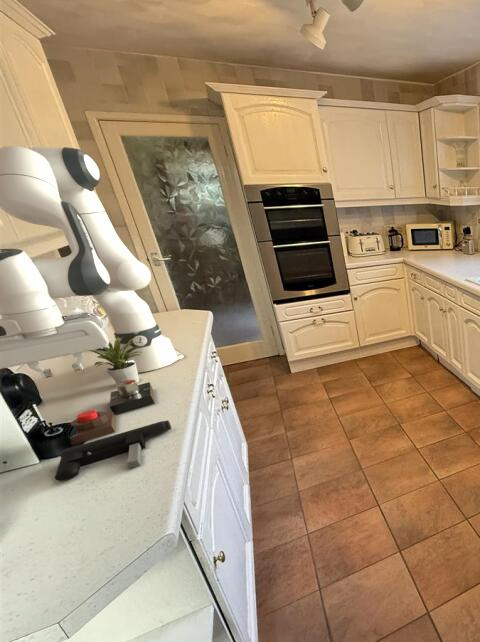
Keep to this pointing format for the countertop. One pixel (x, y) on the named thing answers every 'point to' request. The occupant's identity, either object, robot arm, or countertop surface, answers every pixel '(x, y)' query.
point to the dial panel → (132, 400)
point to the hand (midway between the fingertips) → (64, 373)
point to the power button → (87, 416)
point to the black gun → (108, 449)
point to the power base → (94, 427)
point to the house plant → (120, 361)
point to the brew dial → (127, 388)
